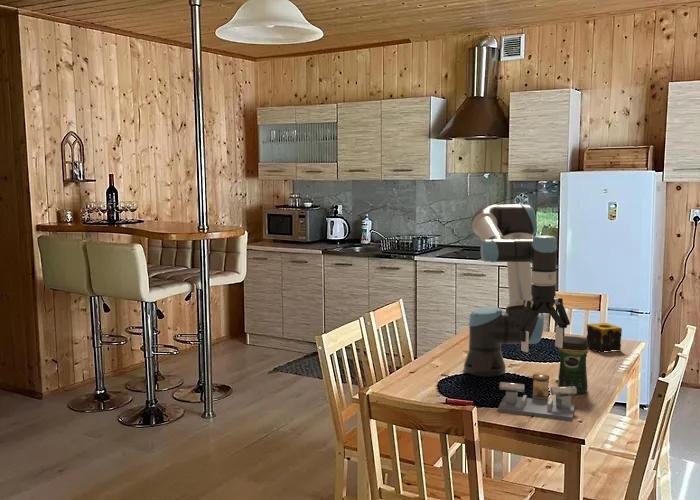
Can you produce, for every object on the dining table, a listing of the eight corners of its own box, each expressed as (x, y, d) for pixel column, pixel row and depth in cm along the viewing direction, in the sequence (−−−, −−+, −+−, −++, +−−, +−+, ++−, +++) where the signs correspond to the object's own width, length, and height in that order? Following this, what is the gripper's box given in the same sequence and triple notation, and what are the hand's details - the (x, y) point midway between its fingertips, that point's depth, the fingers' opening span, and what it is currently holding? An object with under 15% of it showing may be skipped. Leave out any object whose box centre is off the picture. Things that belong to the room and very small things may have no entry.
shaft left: (498, 403, 217) (498, 383, 216) (500, 399, 220) (501, 380, 220) (522, 406, 214) (523, 386, 213) (524, 402, 218) (525, 382, 217)
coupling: (531, 400, 222) (532, 376, 221) (533, 395, 227) (534, 372, 226) (547, 402, 220) (548, 378, 219) (549, 397, 225) (549, 374, 224)
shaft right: (554, 409, 211) (555, 389, 210) (548, 405, 214) (549, 385, 214) (577, 408, 212) (578, 388, 211) (571, 404, 216) (572, 384, 215)
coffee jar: (588, 388, 234) (590, 335, 232) (585, 395, 227) (587, 340, 224) (559, 385, 238) (560, 332, 236) (555, 391, 231) (557, 337, 229)
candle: (585, 347, 289) (585, 324, 288) (605, 345, 292) (606, 322, 291) (600, 353, 279) (601, 329, 278) (621, 351, 282) (622, 327, 281)
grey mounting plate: (497, 411, 212) (497, 401, 212) (504, 398, 224) (504, 389, 224) (572, 420, 204) (572, 410, 204) (575, 406, 216) (575, 397, 216)
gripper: (518, 288, 211) (517, 355, 213) (582, 283, 221) (580, 347, 223) (504, 285, 218) (502, 350, 220) (566, 280, 227) (564, 342, 230)
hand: (541, 349), depth 221 cm, fingers open, 13 cm apart
